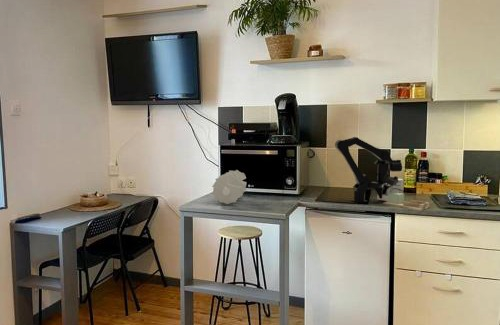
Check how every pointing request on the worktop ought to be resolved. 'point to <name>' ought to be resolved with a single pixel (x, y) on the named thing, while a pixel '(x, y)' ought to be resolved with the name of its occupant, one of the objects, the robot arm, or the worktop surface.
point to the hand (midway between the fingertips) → (382, 198)
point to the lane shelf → (410, 205)
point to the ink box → (396, 187)
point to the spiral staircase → (229, 187)
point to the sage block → (392, 197)
